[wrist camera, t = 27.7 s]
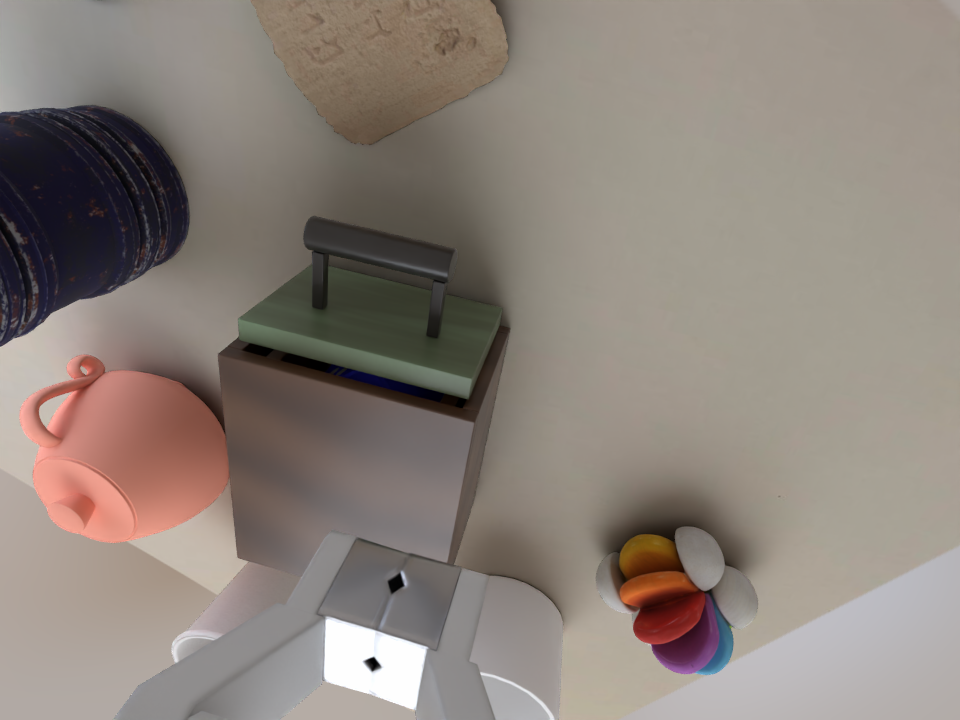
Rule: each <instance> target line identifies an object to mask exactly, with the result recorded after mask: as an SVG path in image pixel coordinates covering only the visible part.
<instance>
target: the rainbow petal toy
mask: <svg viewBox="0 0 960 720" xmlns="http://www.w3.org/2000/svg"><path fill="white" fill-rule="evenodd" d="M596 584H597V588H598V591H599V594H600V596H601V597H602V599H603V600H604V602H605V603H606V604H607V605H608V606H610V607H611V608H613V609H614V610H616V611H619V612H622V613H632V621H633V630H634V633H635V635H636V637H637V638H638V639H639V640H641V641H643V642H645V643H646V644H647V645H649V646H650V647H651V648H652V651H653V653H654V655H655V656H656V658H657V659H658V660H659V662H660V663H661V664H662V665H664V666H665V667H666V668H668V669H669V670H671V671H673V672H676V673H681V674H692V673H697V674H703V675H710V674H715V673H717V672H719V671H720V670H722V669H723V668H724V667H725V666H726V665H727V663H728V662H729V660H730V658H731V655H732V651H733V635H732V632H731V627H734V628H736V629H743V628H745V627H746V626H748V625H749V624H750V623H751V622H752V621H753V619H754V618H755V616H756V613H757V609H758V598H757V595H756V592H755V589H754V587H753V585H752V584H751V582H750V580H749V579H748V578H747V577H746V576H745V575H744V574H743V573H742V572H740V571H739V570H737V569H735V568H733V567H730V566H726V565H725V562H724V557H723V554H722V551H721V549H720V547H719V545H718V544H717V542H716V540H715V539H714V538H713V537H712V536H711V535H710V534H709V533H707V532H705V531H703V530H701V529H699V528H696V527H680V528H678V529H677V530H676V532H675V543H674V542H673V541H671V540H669V539H667V538H664V537H662V536H659V535H652V534H642V535H637V536H635V537H633V538H631V539H630V540H629V541H628V542H627V543H626V544H625V545H624V546H623V548H622V550H621V553H620V554H619V553H616V552H613V553H610V554H609V555H607V556H606V557H605V558H604V559H603V560H602V562H601V563H600V565H599V567H598V569H597V573H596Z"/></svg>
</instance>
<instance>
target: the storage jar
mask: <svg viewBox="0 0 960 720" xmlns="http://www.w3.org/2000/svg"><path fill="white" fill-rule="evenodd" d="M188 227H189V207H188V200H187V196H186V193H185V189H184V186H183V183H182V181H181V178H180V176H179V174H178V172H177V170H176V168H175V166H174V165H173V163H172V161H171V159H170V158H169V157H168V155H167V154H166V152H165V151H164V149H163V148H162V147H161V146H160V145H159V144H158V142H157V141H156V140H155V139H154V138H153V137H152V136H151V135H150V134H149V133H148V132H147V131H146V130H144V129H143V128H142V127H141V126H140V125H138V124H137V123H135V122H134V121H133V120H131V119H130V118H128V117H126V116H124V115H122V114H120V113H118V112H116V111H113V110H111V109H108V108H105V107H99V106H76V107H71V108H67V109H55V108H40V109H32V110H24V111H20V112H2V113H0V346H3V345H4V344H6V343H8V342H9V341H11V340H12V339H13V338H17V337H20V336H23V335H26V334H27V333H29V332H31V331H32V330H34V329H35V327H37V326H38V325H40V324H41V323H43V322H44V321H45V320H46V318H47V317H48V316H49V315H50V313H53V312H55V311H57V310H59V309H61V308H63V307H65V306H67V305H69V304H71V303H73V302H75V301H77V300H79V299H89V298H94V297H97V296H102V295H105V294H108V293H111V292H112V291H114V290H115V289H117V288H119V287H120V286H122V285H125V284H127V283H129V282H131V281H133V280H135V279H137V278H138V277H140V276H141V275H143V274H145V272H146V271H148V270H149V269H151V268H152V267H155V266H158V265H160V264H162V263H164V262H166V261H167V260H169V259H171V258H172V257H173V256H174V255H175V254H176V253H177V252H178V251H179V250H180V248H181V247H182V245H183V244H184V241H185V239H186V236H187V232H188Z"/></svg>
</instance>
